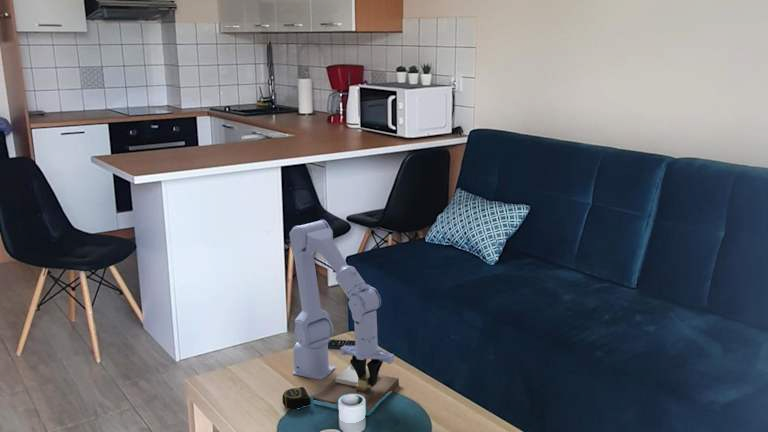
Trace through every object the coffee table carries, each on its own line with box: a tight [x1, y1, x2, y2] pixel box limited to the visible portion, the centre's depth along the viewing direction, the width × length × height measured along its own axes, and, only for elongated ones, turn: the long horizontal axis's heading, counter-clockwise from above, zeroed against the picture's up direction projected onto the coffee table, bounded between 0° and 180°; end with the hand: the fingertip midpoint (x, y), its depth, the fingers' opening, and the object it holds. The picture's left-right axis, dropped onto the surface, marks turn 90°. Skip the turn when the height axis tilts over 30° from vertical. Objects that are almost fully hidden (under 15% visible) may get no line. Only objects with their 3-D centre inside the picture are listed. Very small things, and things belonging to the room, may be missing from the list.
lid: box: [334, 364, 380, 386], centre depth 190 cm, size 9×8×2 cm
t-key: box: [355, 370, 378, 392], centre depth 183 cm, size 5×7×5 cm, turn 154°
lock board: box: [312, 374, 400, 412], centre depth 186 cm, size 16×18×2 cm
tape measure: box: [282, 386, 312, 410], centre depth 181 cm, size 7×7×4 cm
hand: (368, 383), depth 182 cm, fingers open, 2 cm apart
